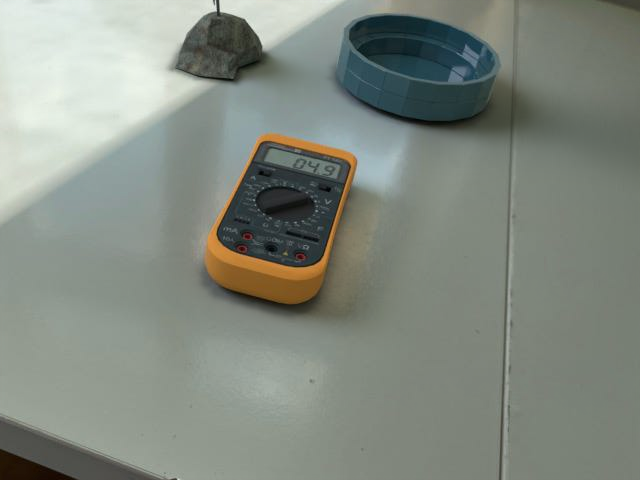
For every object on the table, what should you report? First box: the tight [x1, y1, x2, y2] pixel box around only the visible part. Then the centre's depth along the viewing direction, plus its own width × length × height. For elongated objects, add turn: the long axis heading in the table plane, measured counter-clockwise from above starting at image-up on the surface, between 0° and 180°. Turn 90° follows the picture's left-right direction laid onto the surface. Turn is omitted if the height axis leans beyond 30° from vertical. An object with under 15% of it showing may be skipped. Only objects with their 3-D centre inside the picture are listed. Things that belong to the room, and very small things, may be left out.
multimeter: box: [204, 132, 358, 305], centre depth 60 cm, size 9×18×3 cm, turn 166°
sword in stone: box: [174, 0, 264, 79], centre depth 79 cm, size 10×8×12 cm
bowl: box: [335, 12, 502, 122], centre depth 82 cm, size 16×16×4 cm
